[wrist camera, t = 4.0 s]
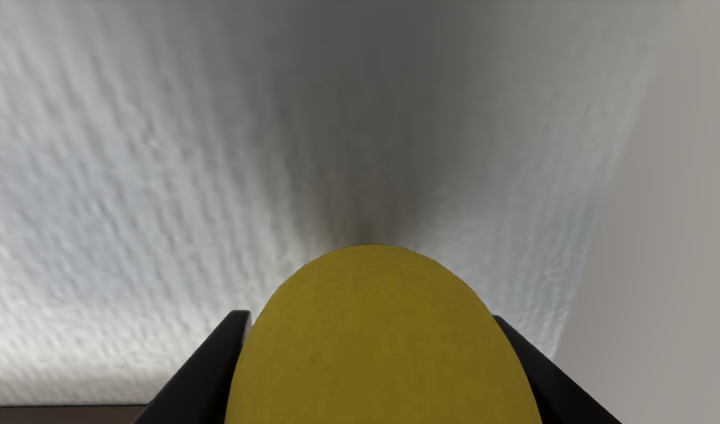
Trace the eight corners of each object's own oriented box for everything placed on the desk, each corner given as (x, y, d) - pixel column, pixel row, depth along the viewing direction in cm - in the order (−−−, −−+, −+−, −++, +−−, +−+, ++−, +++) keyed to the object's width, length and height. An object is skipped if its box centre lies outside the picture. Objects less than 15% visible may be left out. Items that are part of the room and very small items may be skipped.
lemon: (274, 164, 8) (20, 954, 1) (487, 202, 9) (918, 778, 2) (256, 322, 11) (138, 846, 4) (420, 338, 12) (537, 783, 5)
